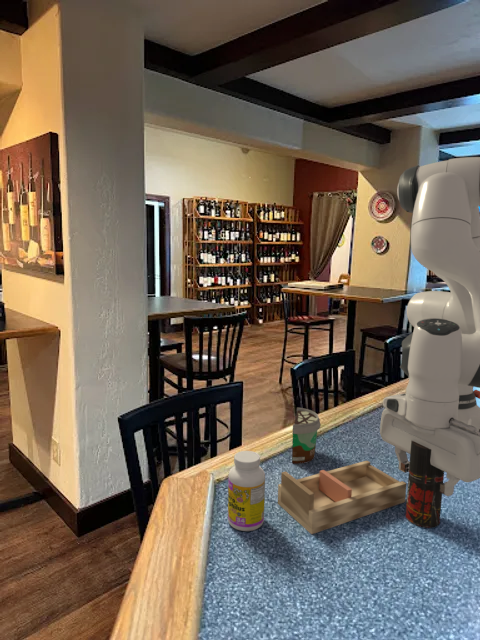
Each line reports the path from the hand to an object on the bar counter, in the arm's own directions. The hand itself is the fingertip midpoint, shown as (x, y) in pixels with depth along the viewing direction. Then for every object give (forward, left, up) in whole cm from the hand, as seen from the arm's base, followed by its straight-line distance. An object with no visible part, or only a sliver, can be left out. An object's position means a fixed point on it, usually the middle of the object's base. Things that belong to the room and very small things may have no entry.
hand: (424, 481), depth 85 cm
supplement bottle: (+30, -14, -8) cm, 34 cm away
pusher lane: (+10, -11, -7) cm, 16 cm away
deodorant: (0, 0, -8) cm, 8 cm away
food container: (+4, -31, -8) cm, 32 cm away
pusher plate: (+12, -11, -6) cm, 17 cm away
